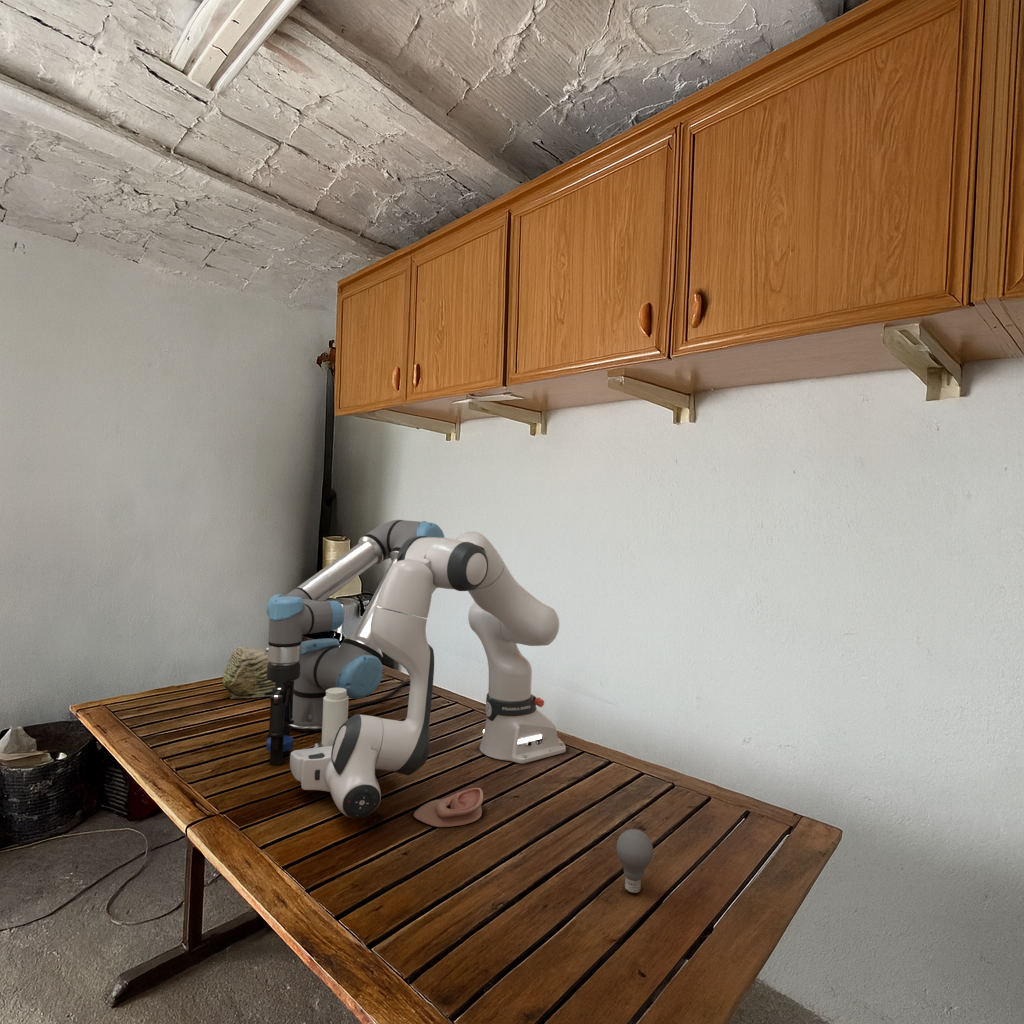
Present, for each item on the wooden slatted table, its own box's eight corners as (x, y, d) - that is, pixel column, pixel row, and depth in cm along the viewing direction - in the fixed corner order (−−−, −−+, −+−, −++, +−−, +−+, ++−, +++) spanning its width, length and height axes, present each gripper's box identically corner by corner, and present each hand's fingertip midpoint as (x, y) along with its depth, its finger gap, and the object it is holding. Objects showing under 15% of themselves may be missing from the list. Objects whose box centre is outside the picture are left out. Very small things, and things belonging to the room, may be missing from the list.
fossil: (218, 695, 195) (220, 647, 195) (278, 685, 208) (279, 640, 207) (228, 703, 189) (230, 653, 188) (289, 692, 201) (290, 645, 201)
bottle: (347, 769, 147) (350, 686, 147) (343, 780, 142) (347, 694, 142) (322, 770, 147) (325, 686, 146) (318, 780, 141) (321, 694, 141)
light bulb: (610, 879, 108) (613, 822, 108) (644, 879, 109) (647, 822, 109) (619, 902, 102) (622, 840, 102) (655, 901, 103) (658, 840, 103)
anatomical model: (408, 802, 124) (427, 778, 135) (407, 822, 124) (427, 796, 136) (473, 812, 122) (488, 786, 133) (473, 832, 122) (487, 805, 133)
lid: (267, 754, 148) (267, 746, 148) (264, 744, 153) (264, 737, 153) (295, 750, 151) (295, 742, 151) (291, 741, 156) (291, 733, 156)
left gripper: (277, 652, 161) (273, 742, 161) (256, 672, 142) (251, 774, 142) (308, 652, 162) (303, 742, 162) (291, 672, 143) (286, 774, 143)
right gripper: (394, 747, 137) (378, 725, 149) (295, 760, 128) (287, 736, 140) (393, 776, 137) (377, 752, 150) (294, 791, 128) (286, 764, 141)
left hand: (279, 757), depth 152 cm, fingers closed on lid, 6 cm apart
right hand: (333, 744), depth 145 cm, fingers closed on bottle, 5 cm apart
